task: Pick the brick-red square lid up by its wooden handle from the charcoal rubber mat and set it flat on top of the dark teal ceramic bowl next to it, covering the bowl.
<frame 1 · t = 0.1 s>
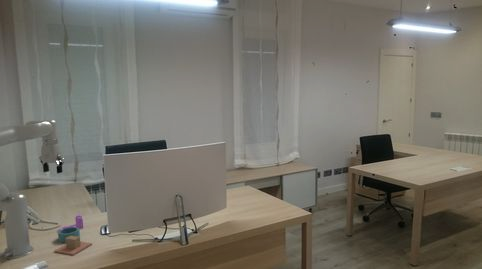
hand: (53, 172, 190), 37 cm above the table, tool pointing down, fingers open, 9 cm apart
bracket: (71, 229, 203), on the table
lid: (73, 248, 176), resting on mat
mat: (73, 249, 176), on the table
bowl: (69, 239, 188), on the table
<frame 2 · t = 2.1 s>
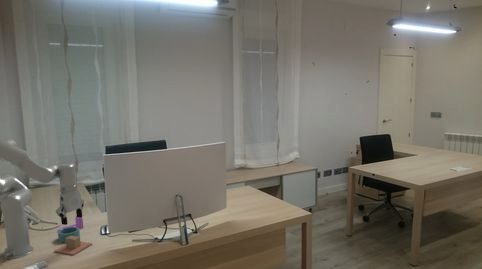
hand: (72, 220, 174), 15 cm above the table, tool pointing down, fingers open, 9 cm apart
nothing on the table moved.
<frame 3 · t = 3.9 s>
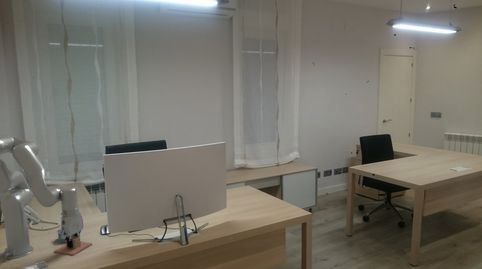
hand: (73, 245, 176), 2 cm above the table, tool pointing down, fingers closed on lid, 3 cm apart
lid: (73, 248, 176), point 1 cm above the table, touching gripper, mat
everything else where it was.
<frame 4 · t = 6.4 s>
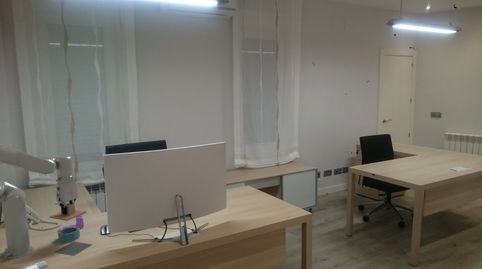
hand: (68, 212, 182), 17 cm above the table, tool pointing down, fingers closed on lid, 3 cm apart
lid: (68, 215, 182), point 15 cm above the table, touching gripper
everything else where it was.
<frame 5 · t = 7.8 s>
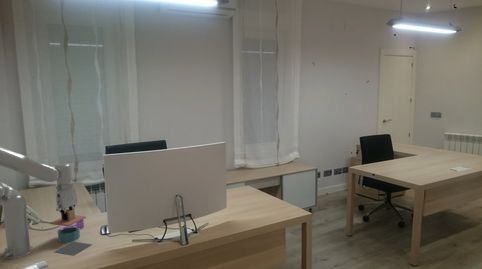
hand: (68, 218, 187), 12 cm above the table, tool pointing down, fingers closed on lid, 3 cm apart
lid: (68, 220, 187), point 11 cm above the table, touching gripper
everything else where it was.
when the fingers open (8 cm above the table, at t = 8.8 s): lid drops 1 cm, resting on bowl.
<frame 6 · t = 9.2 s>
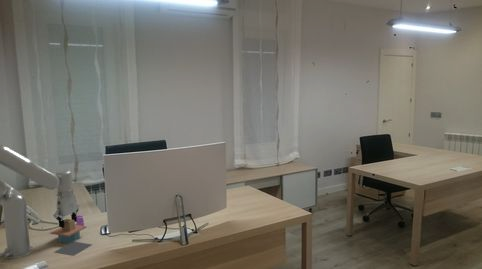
hand: (68, 224, 187), 9 cm above the table, tool pointing down, fingers open, 8 cm apart
lid: (68, 230, 188), point 5 cm above the table, touching bowl
everything else where it was.
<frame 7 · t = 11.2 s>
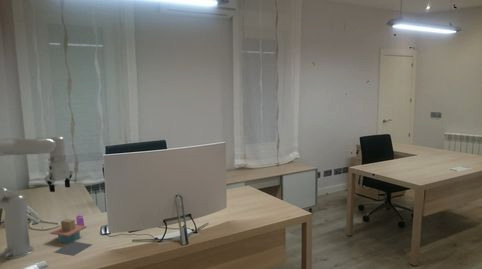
hand: (60, 189, 188), 28 cm above the table, tool pointing down, fingers open, 9 cm apart
nothing on the table moved.
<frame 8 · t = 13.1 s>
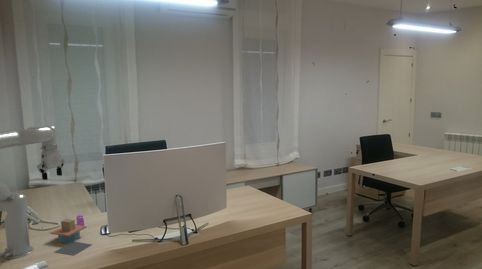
hand: (52, 177, 192), 33 cm above the table, tool pointing down, fingers open, 9 cm apart
nothing on the table moved.
at the end: lid 0.1 cm from the bowl (horizontally); lid point 5.0 cm above the table; lid tilted 0° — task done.
